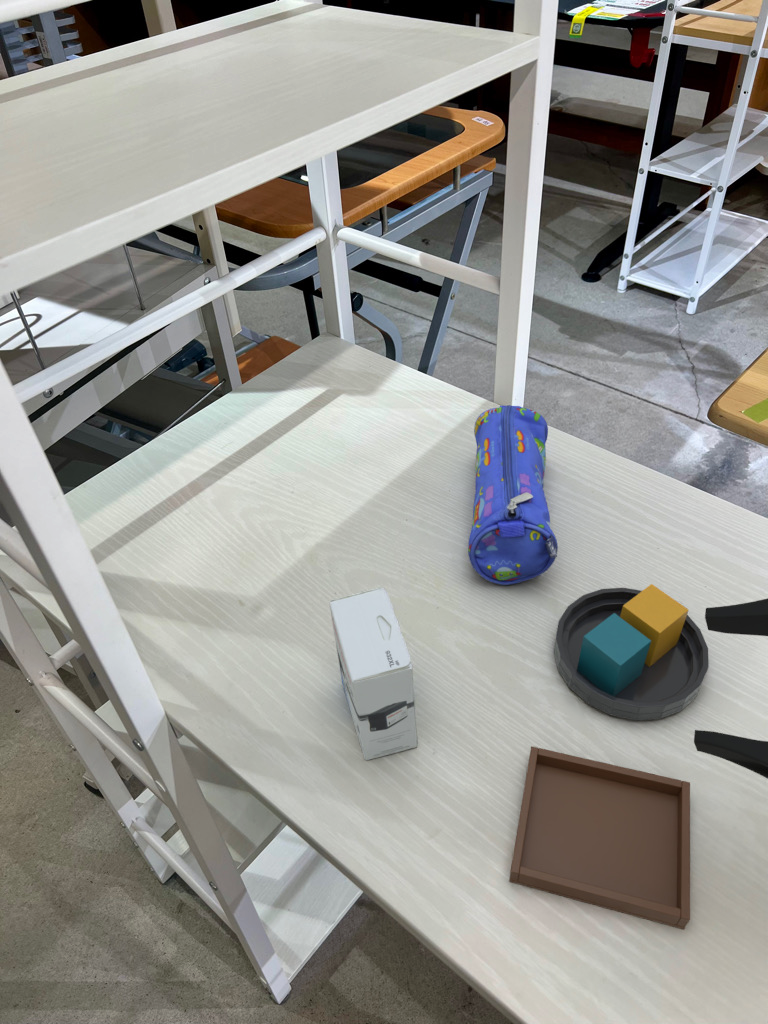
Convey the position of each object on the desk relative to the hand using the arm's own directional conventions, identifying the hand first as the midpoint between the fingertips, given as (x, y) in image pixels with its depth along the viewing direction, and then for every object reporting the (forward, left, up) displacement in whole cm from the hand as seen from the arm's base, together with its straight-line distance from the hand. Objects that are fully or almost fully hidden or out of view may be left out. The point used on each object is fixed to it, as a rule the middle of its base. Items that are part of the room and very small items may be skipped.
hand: (701, 677), depth 45 cm
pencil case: (+16, -30, -19) cm, 39 cm away
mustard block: (+1, -17, -18) cm, 25 cm away
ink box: (+23, -3, -19) cm, 30 cm away
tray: (+3, +3, -19) cm, 19 cm away
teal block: (+4, -12, -18) cm, 22 cm away
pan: (+2, -14, -19) cm, 24 cm away
